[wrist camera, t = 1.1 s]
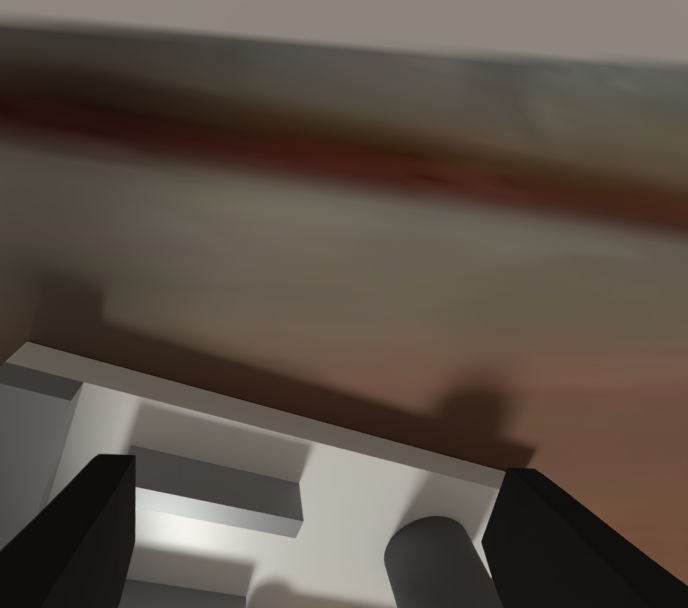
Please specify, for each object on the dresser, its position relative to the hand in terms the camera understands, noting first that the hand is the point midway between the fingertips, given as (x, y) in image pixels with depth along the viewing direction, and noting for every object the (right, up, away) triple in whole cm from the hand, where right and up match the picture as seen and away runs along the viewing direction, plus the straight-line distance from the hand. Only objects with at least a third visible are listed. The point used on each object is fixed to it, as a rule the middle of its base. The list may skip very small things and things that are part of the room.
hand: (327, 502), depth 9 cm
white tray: (-3, -6, +12) cm, 14 cm away
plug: (+4, -7, +12) cm, 15 cm away
